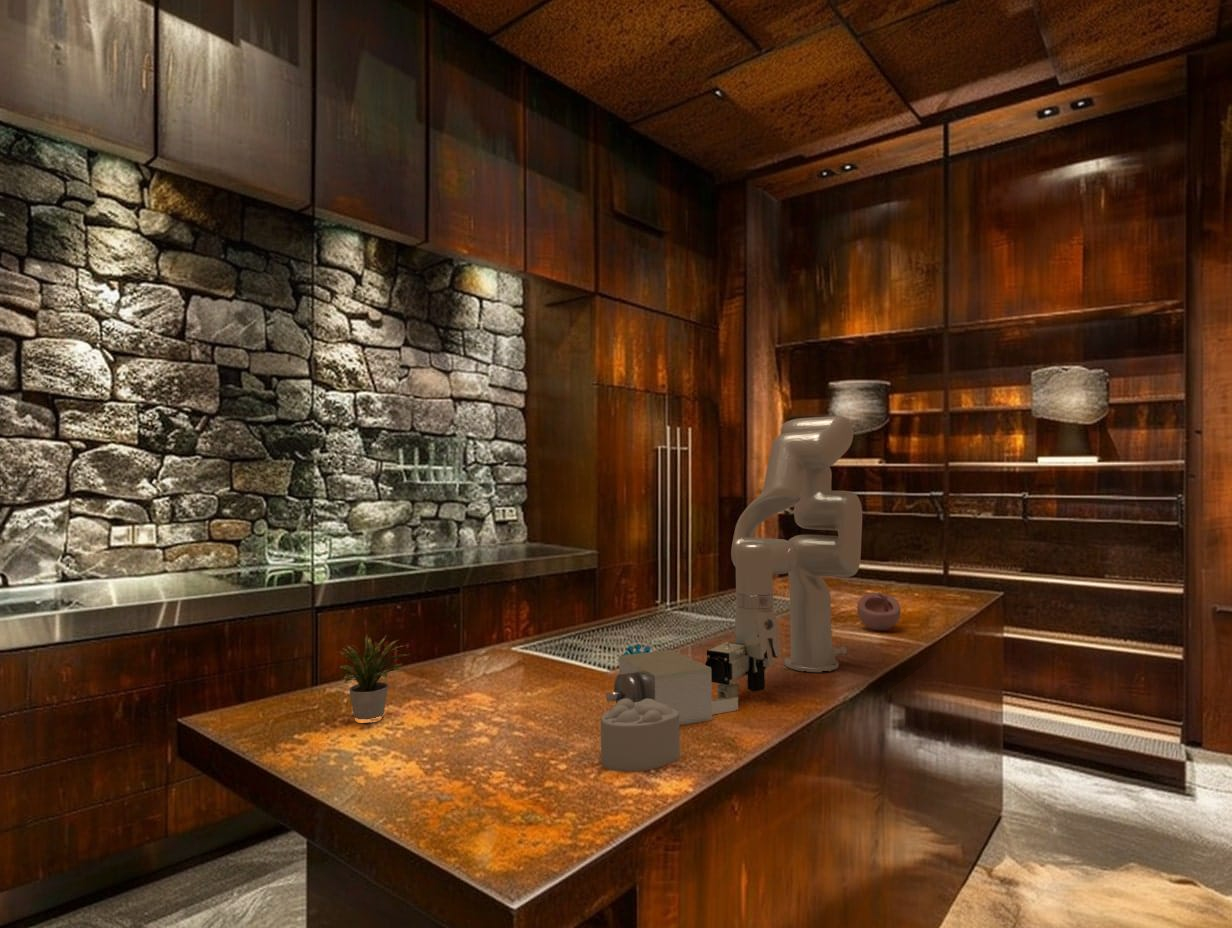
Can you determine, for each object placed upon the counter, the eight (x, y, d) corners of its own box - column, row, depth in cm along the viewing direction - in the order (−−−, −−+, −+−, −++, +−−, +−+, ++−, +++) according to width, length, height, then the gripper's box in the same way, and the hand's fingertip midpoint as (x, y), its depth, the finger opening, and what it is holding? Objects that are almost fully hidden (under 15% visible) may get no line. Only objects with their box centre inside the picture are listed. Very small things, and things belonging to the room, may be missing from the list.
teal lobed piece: (630, 680, 154) (620, 641, 161) (620, 695, 157) (610, 656, 164) (674, 681, 159) (662, 642, 166) (663, 694, 162) (652, 657, 169)
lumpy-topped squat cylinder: (688, 758, 115) (687, 705, 115) (624, 778, 108) (623, 721, 108) (648, 739, 124) (647, 690, 124) (586, 757, 116) (586, 704, 116)
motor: (702, 691, 151) (701, 645, 151) (745, 714, 136) (744, 663, 136) (592, 708, 140) (591, 659, 141) (625, 734, 126) (624, 679, 126)
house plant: (371, 739, 125) (371, 646, 126) (310, 730, 130) (310, 641, 131) (420, 713, 139) (419, 630, 139) (363, 706, 144) (362, 626, 144)
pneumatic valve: (704, 706, 141) (703, 646, 141) (730, 691, 150) (729, 635, 151) (729, 711, 138) (728, 650, 138) (754, 696, 147) (753, 638, 148)
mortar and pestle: (861, 634, 204) (860, 594, 204) (854, 625, 216) (853, 588, 216) (905, 635, 202) (904, 595, 202) (895, 626, 214) (894, 588, 214)
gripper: (791, 605, 142) (793, 697, 142) (748, 594, 156) (750, 678, 155) (760, 609, 139) (762, 702, 139) (719, 597, 153) (721, 682, 152)
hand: (756, 689), depth 147 cm, fingers closed
